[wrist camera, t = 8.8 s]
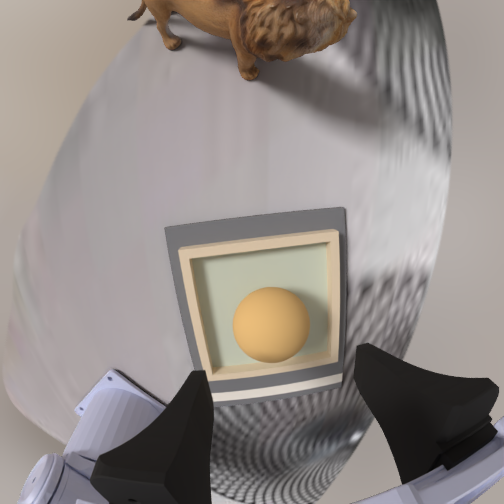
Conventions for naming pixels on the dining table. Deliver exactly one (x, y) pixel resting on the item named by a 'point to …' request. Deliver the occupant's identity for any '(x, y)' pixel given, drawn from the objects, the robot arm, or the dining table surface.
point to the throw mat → (253, 278)
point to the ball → (271, 325)
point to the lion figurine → (258, 25)
